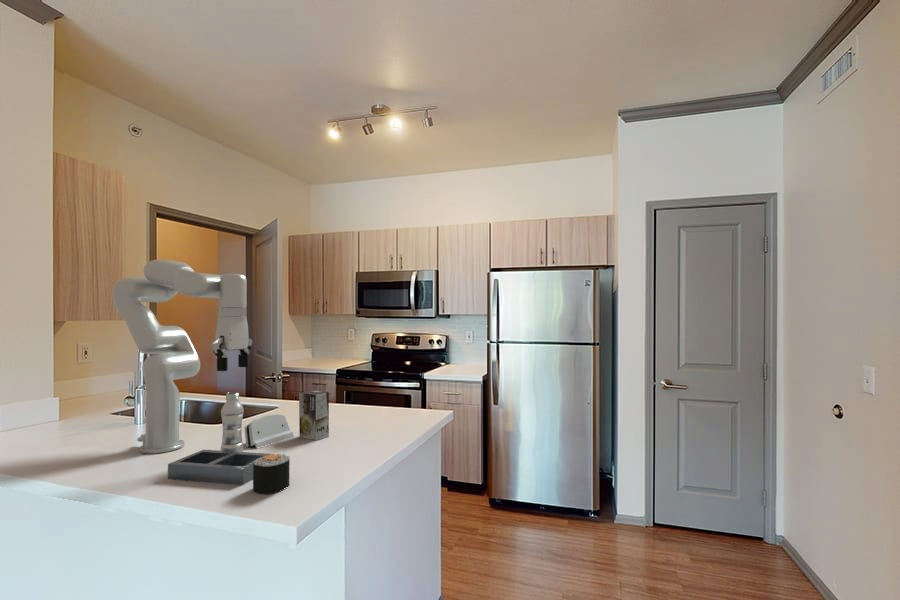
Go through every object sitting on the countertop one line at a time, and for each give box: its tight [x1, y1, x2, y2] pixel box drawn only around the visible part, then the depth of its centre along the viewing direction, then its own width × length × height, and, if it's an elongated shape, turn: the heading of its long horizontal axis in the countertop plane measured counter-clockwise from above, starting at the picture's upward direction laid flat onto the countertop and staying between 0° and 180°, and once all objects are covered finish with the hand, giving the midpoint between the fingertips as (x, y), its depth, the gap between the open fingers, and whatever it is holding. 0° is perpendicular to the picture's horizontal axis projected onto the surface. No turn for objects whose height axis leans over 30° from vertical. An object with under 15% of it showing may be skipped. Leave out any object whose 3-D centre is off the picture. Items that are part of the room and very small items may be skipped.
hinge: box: [244, 414, 294, 449], centre depth 157 cm, size 17×5×10 cm, turn 153°
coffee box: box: [298, 389, 330, 441], centre depth 163 cm, size 9×6×16 cm
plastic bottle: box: [219, 391, 245, 452], centre depth 139 cm, size 6×7×20 cm
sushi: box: [252, 453, 291, 495], centre depth 115 cm, size 8×8×8 cm
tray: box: [167, 449, 271, 485], centre depth 126 cm, size 23×13×4 cm, turn 79°
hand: (233, 368), depth 139 cm, fingers open, 9 cm apart
